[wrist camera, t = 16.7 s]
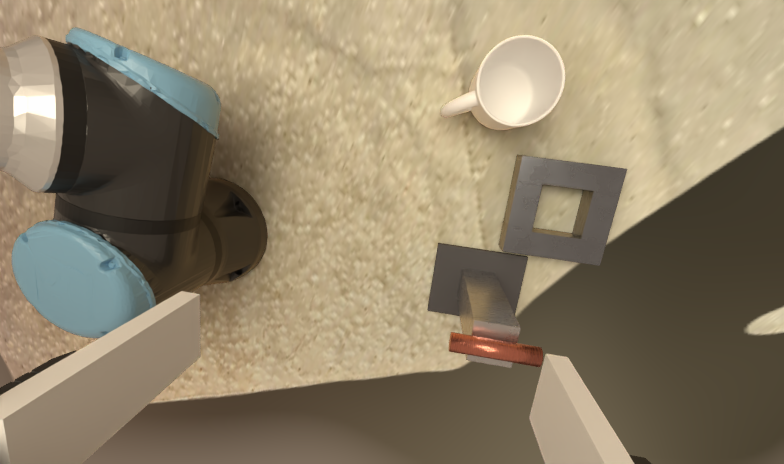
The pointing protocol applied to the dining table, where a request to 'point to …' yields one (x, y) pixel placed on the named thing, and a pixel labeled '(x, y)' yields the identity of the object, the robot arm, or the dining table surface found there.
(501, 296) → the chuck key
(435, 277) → the mat
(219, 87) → the dining table surface
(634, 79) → the dining table surface
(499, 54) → the mug
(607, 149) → the dining table surface
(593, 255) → the grey square ring
